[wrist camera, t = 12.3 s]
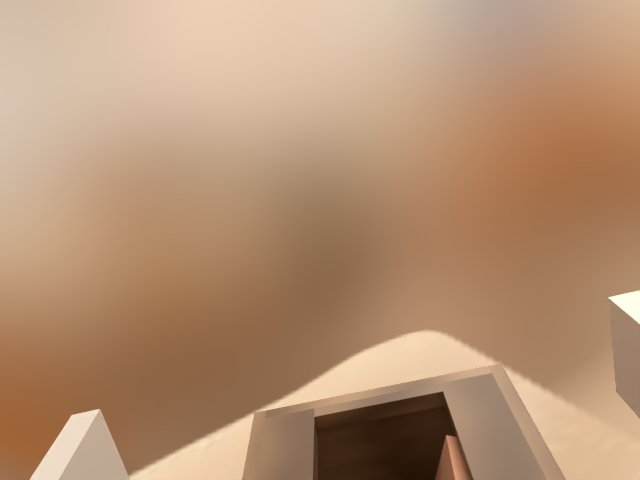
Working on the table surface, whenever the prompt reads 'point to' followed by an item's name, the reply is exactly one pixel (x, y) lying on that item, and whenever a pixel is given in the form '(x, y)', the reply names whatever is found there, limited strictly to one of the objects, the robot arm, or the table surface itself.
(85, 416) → the robot arm
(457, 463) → the tall salmon pillar block
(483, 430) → the tip box
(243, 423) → the table surface
